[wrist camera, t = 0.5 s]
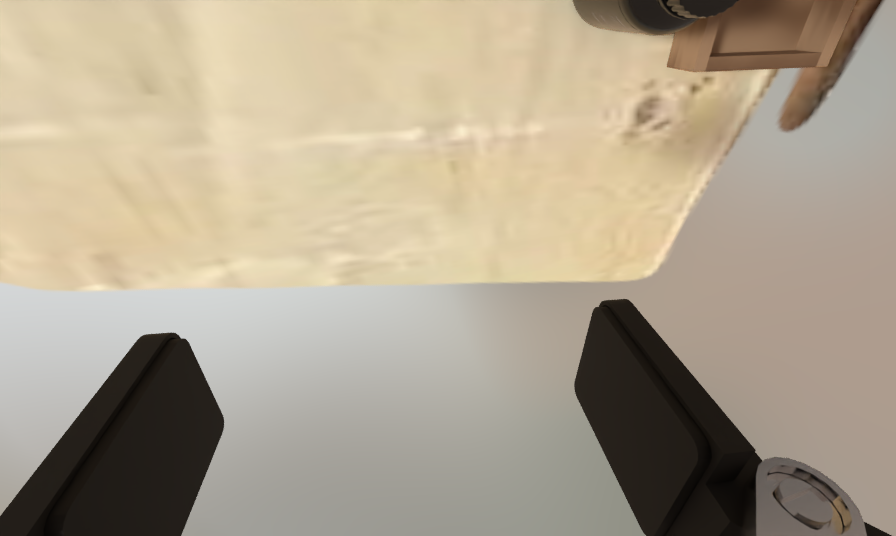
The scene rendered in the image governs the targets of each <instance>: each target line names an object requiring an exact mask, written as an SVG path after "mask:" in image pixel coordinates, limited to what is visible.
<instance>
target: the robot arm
mask: <svg viewBox="0 0 896 536" xmlns="http://www.w3.org/2000/svg"><path fill="white" fill-rule="evenodd" d="M575 392H576V396H577V398H578V400H579V402H580V404H581V406H582V409H583V411H584V413H585V415H586V417H587V419H588V421H589V423H590V425H591V427H592V429H593V431H594V433H595V435H596V437H597V439H598V441H599V443H600V445H601V447H602V449H603V451H604V454H605V456H606V458H607V460H608V462H609V464H610V466H611V468H612V470H613V472H614V474H615V476H616V478H617V480H618V482H619V484H620V486H621V488H622V490H623V492H624V494H625V497H626V499H627V501H628V503H629V504H630V507H631V509H632V511H633V513H634V515H635V517H636V519H637V521H638V523H639V525H640V527H641V529H642V531H643V532H644V534H645V535H646V536H891V535H889V534H887V533H885V532H883V531H881V530H879V529H877V528H875V527H873V526H871V525H869V524H867V523H865V522H864V521H863V519H862V516H861V514H860V511H859V509H858V508H857V506H856V505H855V504H854V502H853V501H852V500H851V498H850V497H849V496H848V494H847V493H846V492H844V491H843V490H842V489H841V488H840V487H839V486H838V485H837V484H836V483H835V482H834V481H832V480H831V479H829V478H828V477H827V476H825V475H824V474H823V473H821V472H820V471H818V470H816V469H814V468H812V467H810V466H808V465H806V464H804V463H802V462H799V461H796V460H792V459H789V458H781V457H773V458H769V459H765V460H764V461H762V460H761V459H760V457H759V456H758V455H757V454H756V453H755V449H754V448H753V447H752V445H751V444H750V443H749V442H748V441H747V439H746V438H745V437H744V436H743V435H742V434H741V432H740V431H739V430H738V429H737V428H736V426H735V425H734V424H733V423H732V422H731V420H730V419H729V418H728V417H727V416H726V414H725V413H724V412H723V411H722V410H721V408H720V407H719V406H718V405H717V404H716V403H715V401H714V400H713V399H712V398H711V397H710V395H709V394H708V393H707V392H706V391H705V389H704V388H703V387H702V386H701V385H700V384H699V382H698V381H697V380H696V379H695V378H694V376H693V375H692V374H691V373H690V372H689V370H688V369H687V368H686V367H685V366H684V364H683V363H682V362H681V361H680V360H679V358H678V357H677V356H676V355H675V354H674V353H673V351H672V350H671V349H670V348H669V347H668V345H667V344H666V343H665V342H664V341H663V340H662V338H661V337H660V336H659V335H658V334H657V332H656V331H655V330H654V329H653V328H652V326H651V325H650V324H649V323H648V322H647V320H646V319H645V318H644V317H643V316H642V315H641V313H640V312H639V311H638V310H637V308H636V307H635V306H634V305H633V304H632V303H631V302H630V301H629V300H627V299H619V300H606V301H602V302H601V303H600V305H599V307H596V308H595V309H594V310H593V313H592V317H591V321H590V324H589V328H588V332H587V336H586V340H585V344H584V348H583V352H582V356H581V360H580V363H579V367H578V372H577V375H576V379H575ZM223 428H224V418H223V415H222V413H221V410H220V408H219V406H218V404H217V402H216V400H215V398H214V396H213V393H212V391H211V390H210V387H209V385H208V383H207V381H206V378H205V376H204V374H203V372H202V370H201V368H200V366H199V364H198V362H197V360H196V357H195V355H194V353H193V351H192V349H191V346H190V344H189V342H188V341H187V340H186V339H181V338H180V337H179V335H177V334H176V333H161V334H148V335H143V336H141V337H140V338H139V339H138V340H137V342H136V343H135V344H134V345H133V346H132V348H131V349H130V350H129V352H128V353H127V354H126V355H125V357H124V358H123V359H122V361H121V362H120V363H119V364H118V366H117V367H116V368H115V370H114V371H113V372H112V373H111V375H110V376H109V377H108V379H107V380H106V381H105V382H104V384H103V385H102V386H101V388H100V389H99V390H98V392H97V393H96V394H95V395H94V397H93V398H92V399H91V400H90V402H89V403H88V404H87V406H86V407H85V408H84V409H83V411H82V412H81V413H80V415H79V416H78V417H77V418H76V420H75V421H74V422H73V424H72V425H71V426H70V428H69V429H68V430H67V431H66V432H65V434H64V435H63V436H62V438H61V439H60V440H59V441H58V443H57V444H56V445H55V447H54V448H53V449H52V450H51V452H50V453H49V454H48V456H47V457H46V458H45V459H44V461H43V462H42V463H41V465H40V466H39V467H38V468H37V470H36V471H35V472H34V474H33V475H32V476H31V477H30V479H29V480H28V481H27V483H26V484H25V485H24V486H23V488H22V489H21V490H20V491H19V493H18V494H17V495H16V497H15V498H14V499H13V500H12V502H11V503H10V504H9V506H8V507H7V508H6V509H5V511H4V512H3V513H2V515H1V516H0V536H181V534H182V532H183V529H184V527H185V524H186V522H187V519H188V517H189V514H190V512H191V510H192V507H193V505H194V502H195V500H196V497H197V494H198V492H199V490H200V487H201V485H202V482H203V480H204V477H205V475H206V472H207V470H208V467H209V465H210V462H211V460H212V457H213V455H214V452H215V450H216V447H217V445H218V442H219V440H220V438H221V435H222V432H223Z"/></svg>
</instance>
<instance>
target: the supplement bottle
mask: <svg viewBox="0 0 896 536" xmlns="http://www.w3.org/2000/svg"><path fill="white" fill-rule="evenodd" d="M737 1H739V0H573V3H574V6H575V8H576V10H577V12H578V14H579V15H580V16H581V18H582V19H583V20H584V21H585V22H587V23H588V24H590V25H592V26H594V27H597V28H600V29H606V30H614V31H622V32H630V33H638V34H646V35H668V34H672V33H676V32H678V31H681V30H683V29H685V28H687V27H689V26H690V25H692V24H693V23H695V22H696V21H698V20H699V19H700V18H707V17H709V16H710V17H713V16H716V15H717V14H718V13H723V12H725V11H726V10H727V9H728V8H730V7H733V5H734V4H735V3H736V2H737Z"/></svg>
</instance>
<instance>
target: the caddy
mask: <svg viewBox="0 0 896 536" xmlns="http://www.w3.org/2000/svg"><path fill="white" fill-rule="evenodd" d="M856 1H857V0H739V1H737V2H736V3H735V4H734V5H733V7H730V8H728V9H727V10H726V11H725V12H723V13H718V14H717V15H716V16H713V17H710V16H709V17H707V18H700V19H699V20H698V21H696V22H695V23H693V24H692V25H690V26H689V27H687V28H685V29H683V30H681V31H678V32H676V33H675V36H674V40H673V44H672V48H671V52H670V56H669V60H668V64H667V67H670V68H675V69H680V70H685V71H690V72H707V71H731V70H754V69H778V68H801V67H825V66H827V65H828V63H829V61H830V59H831V57H832V54H833V52H834V50H835V48H836V45H837V43H838V41H839V39H840V37H841V34H842V32H843V30H844V28H845V25H846V23H847V21H848V19H849V17H850V14H851V12H852V10H853V8H854V5H855V3H856Z"/></svg>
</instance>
